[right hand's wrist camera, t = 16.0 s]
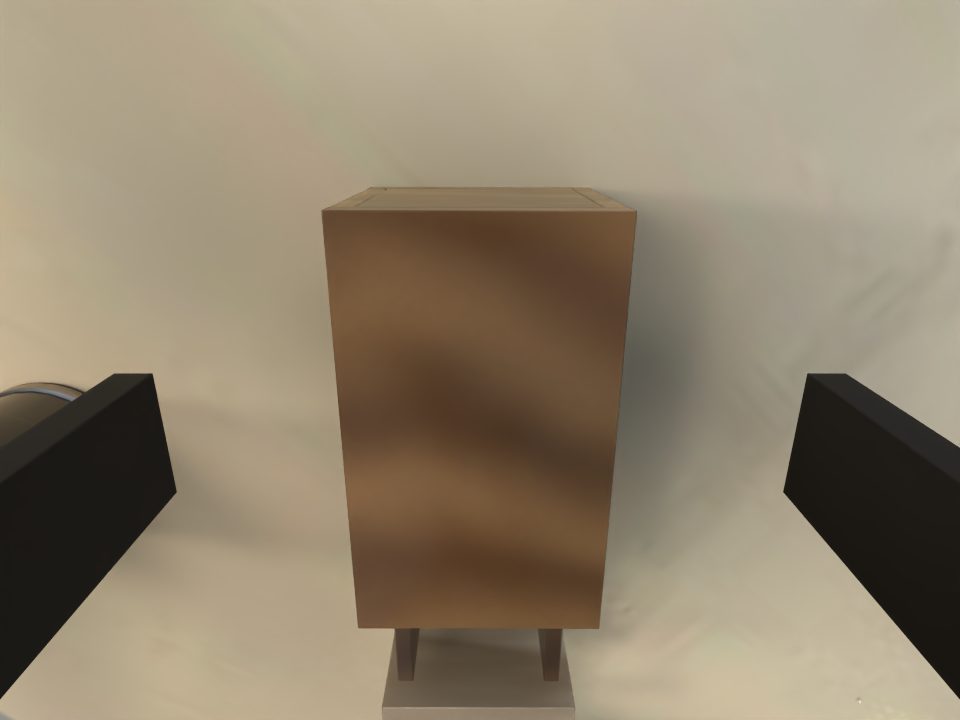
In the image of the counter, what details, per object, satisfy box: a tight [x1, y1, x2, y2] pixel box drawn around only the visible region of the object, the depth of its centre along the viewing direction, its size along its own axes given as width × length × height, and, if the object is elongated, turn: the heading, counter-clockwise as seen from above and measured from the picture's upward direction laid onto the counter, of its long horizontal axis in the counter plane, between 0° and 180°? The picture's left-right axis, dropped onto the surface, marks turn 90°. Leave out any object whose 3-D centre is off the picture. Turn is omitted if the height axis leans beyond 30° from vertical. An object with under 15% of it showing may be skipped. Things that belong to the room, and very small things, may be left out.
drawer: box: [382, 628, 575, 720], centre depth 33 cm, size 24×10×8 cm, turn 0°
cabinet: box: [322, 187, 637, 629], centre depth 29 cm, size 19×11×10 cm, turn 0°
